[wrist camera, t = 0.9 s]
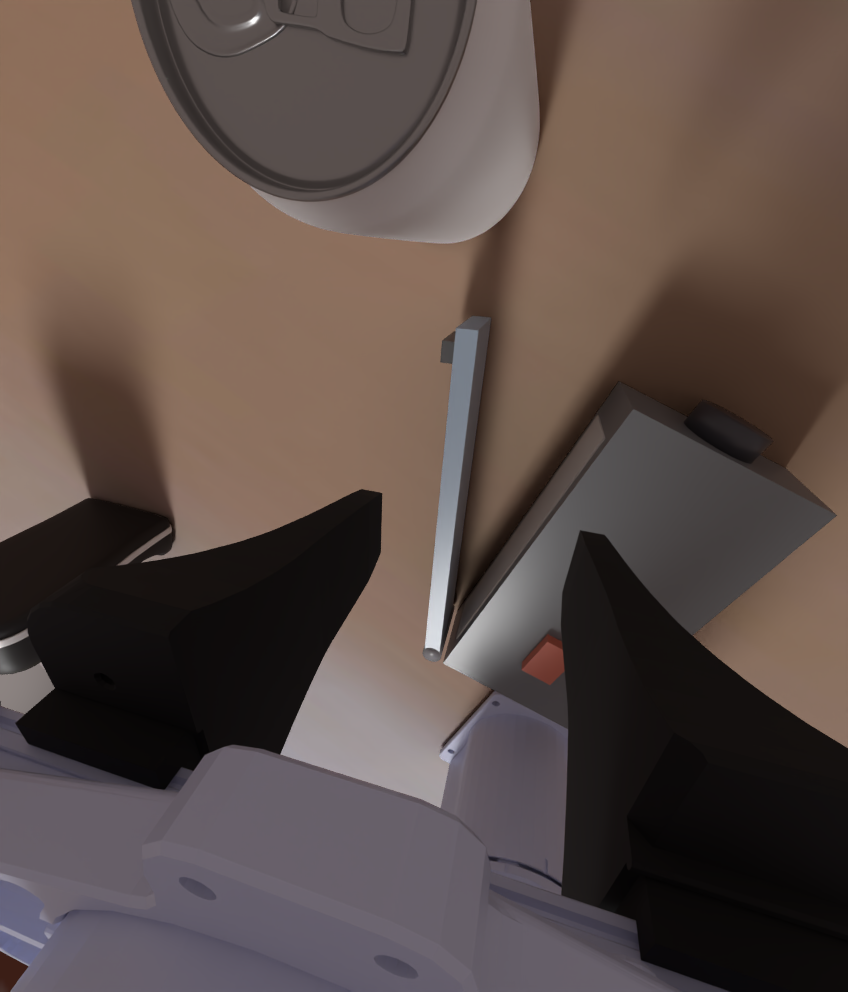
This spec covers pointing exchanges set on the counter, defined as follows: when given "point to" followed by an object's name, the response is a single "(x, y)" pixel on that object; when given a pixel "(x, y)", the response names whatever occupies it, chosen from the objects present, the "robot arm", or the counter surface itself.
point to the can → (359, 105)
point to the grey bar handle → (455, 471)
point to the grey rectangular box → (634, 536)
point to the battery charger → (67, 563)
